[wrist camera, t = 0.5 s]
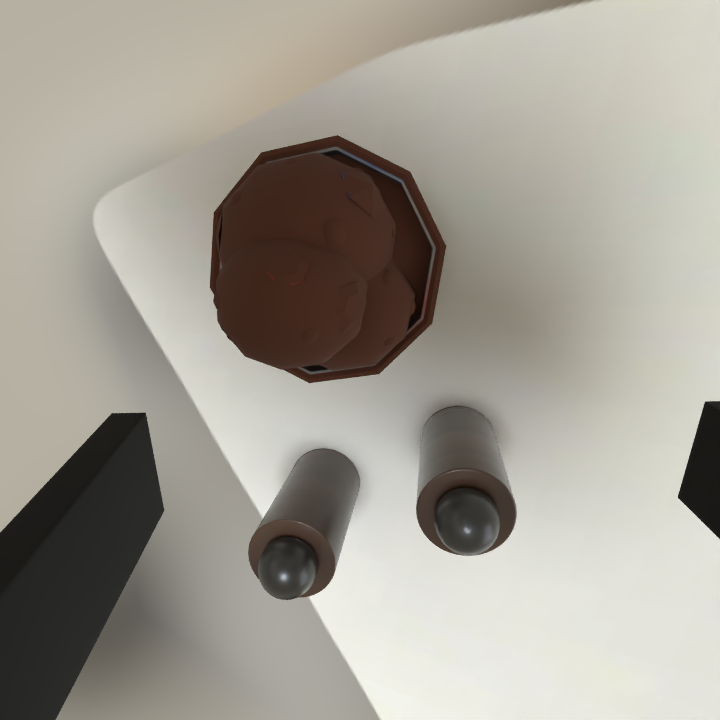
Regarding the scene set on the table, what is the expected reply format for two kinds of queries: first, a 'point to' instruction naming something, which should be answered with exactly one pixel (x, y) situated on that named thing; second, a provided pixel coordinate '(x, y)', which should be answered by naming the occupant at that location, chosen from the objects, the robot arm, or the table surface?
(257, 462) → the table surface
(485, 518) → the walnut mill middle
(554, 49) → the table surface
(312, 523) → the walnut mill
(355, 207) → the ice cream bowl
